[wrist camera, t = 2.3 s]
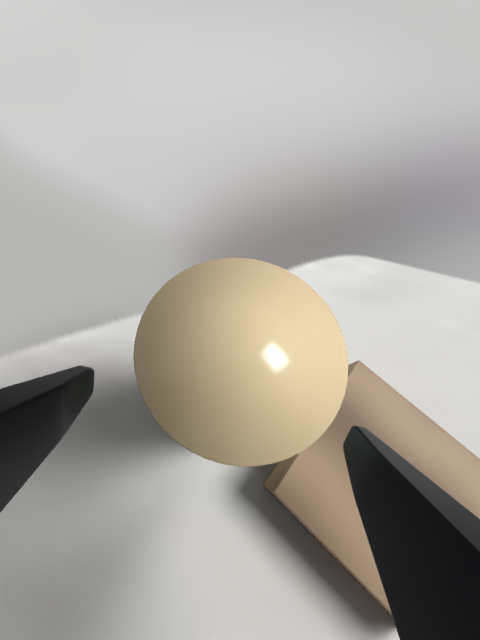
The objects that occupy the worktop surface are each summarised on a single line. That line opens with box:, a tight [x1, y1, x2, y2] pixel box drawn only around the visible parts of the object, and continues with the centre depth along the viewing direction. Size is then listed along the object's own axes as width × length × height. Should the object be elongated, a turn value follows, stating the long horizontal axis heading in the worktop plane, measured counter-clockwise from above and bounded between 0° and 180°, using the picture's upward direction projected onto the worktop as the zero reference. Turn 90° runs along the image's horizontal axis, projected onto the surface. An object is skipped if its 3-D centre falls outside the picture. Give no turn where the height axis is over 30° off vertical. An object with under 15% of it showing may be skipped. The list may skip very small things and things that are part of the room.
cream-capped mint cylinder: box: [134, 258, 348, 466], centre depth 11 cm, size 5×5×12 cm
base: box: [263, 360, 480, 617], centre depth 15 cm, size 10×10×2 cm
